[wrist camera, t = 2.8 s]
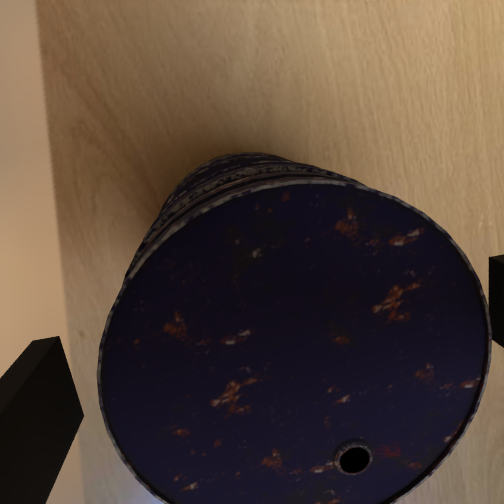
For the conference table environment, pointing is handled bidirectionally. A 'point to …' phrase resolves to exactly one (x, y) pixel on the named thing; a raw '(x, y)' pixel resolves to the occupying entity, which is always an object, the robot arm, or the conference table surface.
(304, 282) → the rusty barrel
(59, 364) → the robot arm
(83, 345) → the conference table surface
